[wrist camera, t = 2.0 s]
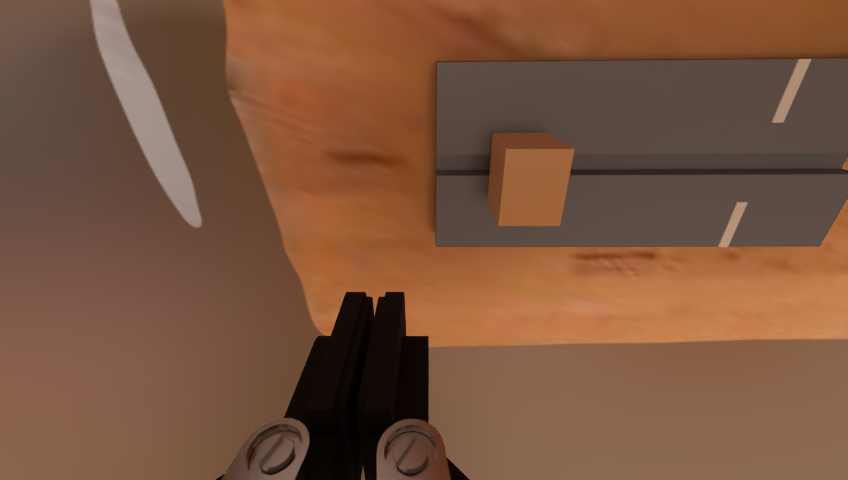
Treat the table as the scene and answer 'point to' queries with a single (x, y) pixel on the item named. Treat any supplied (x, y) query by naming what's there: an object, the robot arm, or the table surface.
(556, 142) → the slider tab
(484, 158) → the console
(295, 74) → the table surface
